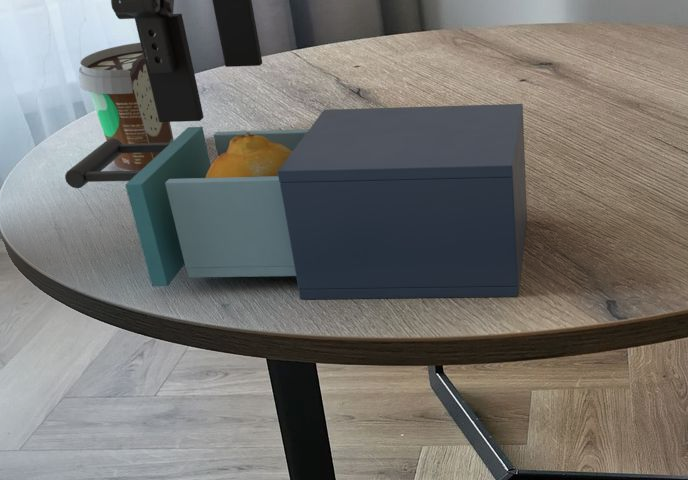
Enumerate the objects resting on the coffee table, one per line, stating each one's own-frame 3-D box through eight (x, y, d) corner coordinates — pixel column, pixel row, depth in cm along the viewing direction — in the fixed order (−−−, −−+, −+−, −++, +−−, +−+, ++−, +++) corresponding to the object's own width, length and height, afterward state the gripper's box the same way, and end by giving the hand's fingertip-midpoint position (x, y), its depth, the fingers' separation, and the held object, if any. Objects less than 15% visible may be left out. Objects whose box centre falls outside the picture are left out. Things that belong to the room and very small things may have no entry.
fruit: (231, 181, 77) (204, 113, 70) (331, 188, 77) (314, 120, 70) (209, 267, 73) (177, 204, 66) (314, 274, 73) (293, 212, 66)
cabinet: (300, 299, 68) (277, 171, 63) (340, 222, 80) (323, 109, 75) (518, 296, 67) (512, 165, 62) (527, 219, 79) (522, 103, 74)
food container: (117, 140, 102) (92, 44, 97) (176, 135, 103) (154, 39, 98) (87, 181, 92) (57, 76, 87) (153, 175, 92) (126, 70, 87)
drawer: (76, 287, 70) (44, 184, 66) (142, 219, 80) (118, 127, 76) (348, 283, 68) (333, 177, 64) (379, 214, 79) (368, 119, 75)
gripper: (117, -280, 46) (209, 147, 57) (263, -264, 67) (309, 45, 78) (-31, -270, 47) (87, 150, 57) (160, -257, 68) (220, 48, 79)
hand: (215, 90), depth 68 cm, fingers open, 13 cm apart
